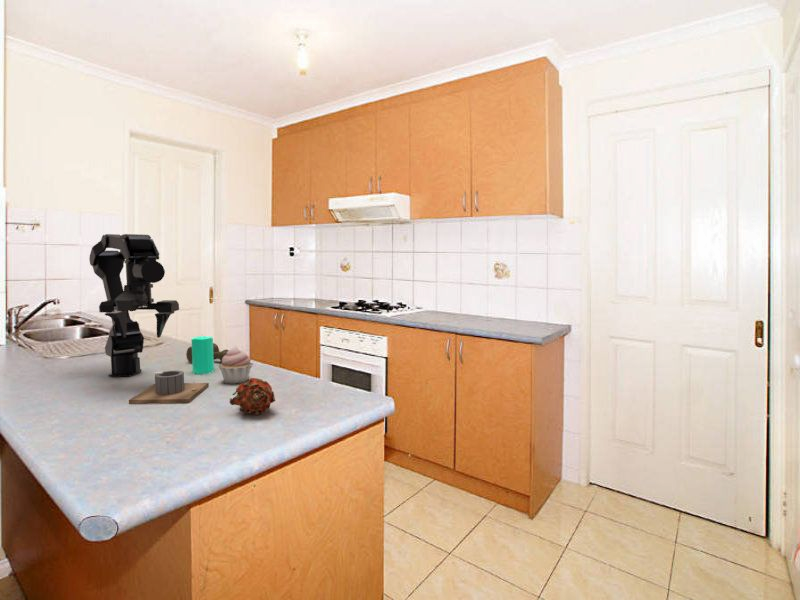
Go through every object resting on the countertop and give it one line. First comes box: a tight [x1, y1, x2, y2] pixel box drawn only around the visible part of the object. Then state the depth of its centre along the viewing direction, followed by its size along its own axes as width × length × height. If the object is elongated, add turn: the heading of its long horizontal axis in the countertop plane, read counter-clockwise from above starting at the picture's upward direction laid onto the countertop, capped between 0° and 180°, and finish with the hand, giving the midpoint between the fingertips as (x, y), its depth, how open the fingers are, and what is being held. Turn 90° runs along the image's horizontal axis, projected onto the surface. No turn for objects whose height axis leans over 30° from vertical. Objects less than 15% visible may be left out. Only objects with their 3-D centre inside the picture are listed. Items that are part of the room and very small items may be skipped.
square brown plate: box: [128, 382, 210, 405], centre depth 118 cm, size 14×14×4 cm
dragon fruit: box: [229, 377, 276, 416], centre depth 106 cm, size 8×8×12 cm
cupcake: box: [218, 346, 254, 385], centre depth 130 cm, size 9×9×10 cm
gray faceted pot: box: [153, 370, 185, 395], centre depth 118 cm, size 6×7×5 cm
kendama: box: [186, 342, 230, 364], centre depth 153 cm, size 6×10×20 cm
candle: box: [191, 335, 215, 375], centre depth 140 cm, size 6×6×12 cm
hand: (141, 337), depth 127 cm, fingers open, 9 cm apart
